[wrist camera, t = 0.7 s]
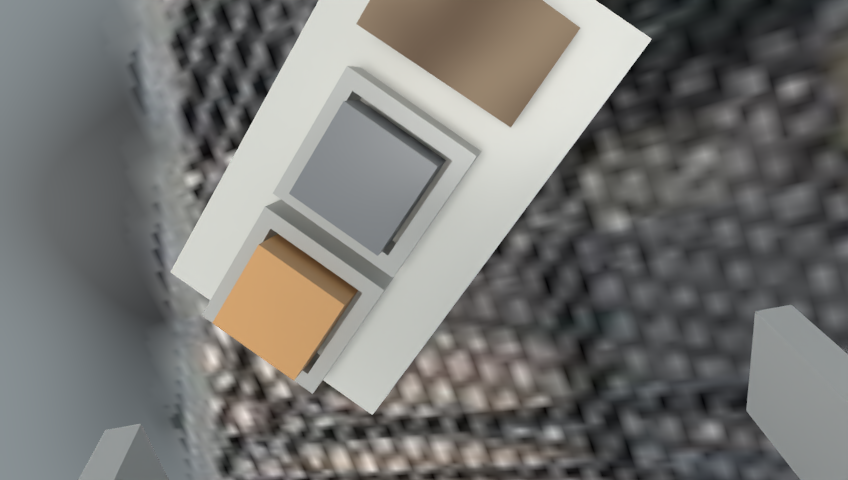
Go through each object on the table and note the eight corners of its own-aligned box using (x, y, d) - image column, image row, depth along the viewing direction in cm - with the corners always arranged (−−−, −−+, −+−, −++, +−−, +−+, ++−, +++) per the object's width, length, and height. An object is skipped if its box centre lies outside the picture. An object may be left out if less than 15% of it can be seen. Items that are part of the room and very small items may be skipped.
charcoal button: (446, 160, 29) (437, 166, 27) (390, 243, 30) (377, 255, 28) (359, 99, 29) (343, 100, 27) (307, 185, 31) (288, 193, 28)
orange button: (359, 289, 31) (344, 305, 29) (311, 360, 33) (293, 380, 31) (279, 232, 31) (258, 244, 29) (235, 306, 33) (212, 322, 31)
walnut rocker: (575, 27, 27) (580, 27, 26) (508, 123, 28) (510, 127, 27) (420, -85, 25) (420, -89, 24) (358, 23, 27) (356, 23, 26)
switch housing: (641, 43, 30) (660, 35, 25) (385, 389, 37) (361, 436, 32) (408, -118, 30) (382, -157, 25) (198, 257, 38) (146, 283, 33)
